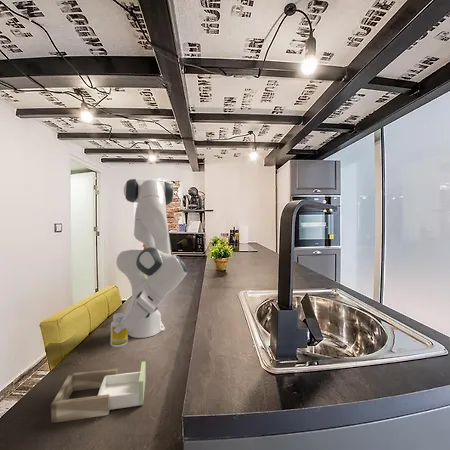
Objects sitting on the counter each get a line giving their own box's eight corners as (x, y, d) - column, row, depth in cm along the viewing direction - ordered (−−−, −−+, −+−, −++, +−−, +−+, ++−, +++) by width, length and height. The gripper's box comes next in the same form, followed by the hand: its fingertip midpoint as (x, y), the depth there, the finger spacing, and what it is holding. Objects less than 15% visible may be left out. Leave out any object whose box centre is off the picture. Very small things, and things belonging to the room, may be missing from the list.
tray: (104, 387, 84) (104, 365, 84) (145, 382, 87) (145, 361, 86) (96, 411, 73) (96, 386, 73) (142, 404, 76) (143, 381, 76)
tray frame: (69, 389, 83) (69, 373, 83) (117, 383, 86) (117, 368, 86) (51, 423, 69) (51, 404, 69) (108, 414, 73) (108, 397, 72)
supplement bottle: (107, 343, 87) (108, 314, 87) (123, 338, 91) (123, 310, 91) (114, 349, 84) (115, 318, 84) (130, 343, 88) (131, 314, 87)
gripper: (144, 282, 99) (115, 310, 97) (139, 298, 79) (103, 333, 77) (156, 294, 100) (128, 321, 98) (154, 312, 80) (119, 347, 78)
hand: (117, 327), depth 87 cm, fingers closed on supplement bottle, 5 cm apart
